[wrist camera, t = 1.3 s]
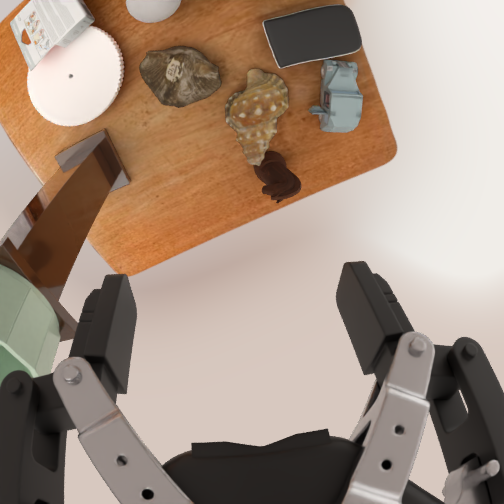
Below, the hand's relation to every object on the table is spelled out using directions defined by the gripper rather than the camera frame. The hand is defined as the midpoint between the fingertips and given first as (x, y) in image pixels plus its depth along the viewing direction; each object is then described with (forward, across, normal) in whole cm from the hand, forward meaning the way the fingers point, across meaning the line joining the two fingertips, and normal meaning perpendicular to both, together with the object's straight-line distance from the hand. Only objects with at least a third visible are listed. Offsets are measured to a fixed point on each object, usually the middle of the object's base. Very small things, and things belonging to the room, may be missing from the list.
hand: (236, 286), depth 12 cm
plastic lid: (+35, +19, -6) cm, 40 cm away
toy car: (+35, -15, -2) cm, 38 cm away
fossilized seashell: (+35, +5, -4) cm, 35 cm away
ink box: (+32, +17, -18) cm, 40 cm away
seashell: (+35, -5, +2) cm, 35 cm away
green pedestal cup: (+35, +18, +8) cm, 40 cm away
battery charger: (+33, -6, -8) cm, 35 cm away
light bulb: (+35, +7, -14) cm, 38 cm away
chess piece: (+35, -8, +10) cm, 37 cm away
